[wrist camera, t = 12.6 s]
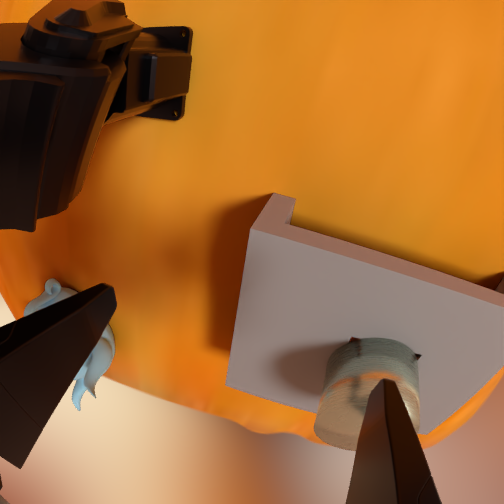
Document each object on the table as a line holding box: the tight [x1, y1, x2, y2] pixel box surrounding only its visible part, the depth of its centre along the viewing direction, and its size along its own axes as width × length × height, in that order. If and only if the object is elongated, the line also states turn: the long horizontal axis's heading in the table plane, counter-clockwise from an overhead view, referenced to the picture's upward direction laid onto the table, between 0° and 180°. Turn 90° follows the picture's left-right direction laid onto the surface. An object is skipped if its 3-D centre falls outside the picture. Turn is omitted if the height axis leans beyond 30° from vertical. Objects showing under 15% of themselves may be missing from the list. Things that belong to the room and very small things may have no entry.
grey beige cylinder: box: [314, 337, 420, 451], centre depth 19 cm, size 6×6×9 cm
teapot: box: [24, 278, 115, 411], centre depth 34 cm, size 15×15×10 cm
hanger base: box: [225, 193, 504, 435], centre depth 21 cm, size 20×16×5 cm
